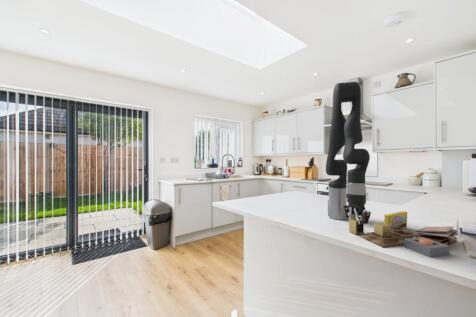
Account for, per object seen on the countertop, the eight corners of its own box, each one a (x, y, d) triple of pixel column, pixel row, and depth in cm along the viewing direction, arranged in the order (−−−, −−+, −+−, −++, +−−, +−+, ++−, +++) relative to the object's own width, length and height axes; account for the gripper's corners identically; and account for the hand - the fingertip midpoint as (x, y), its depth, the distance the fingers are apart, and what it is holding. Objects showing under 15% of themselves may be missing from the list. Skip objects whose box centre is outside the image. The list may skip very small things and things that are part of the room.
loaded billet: (374, 237, 88) (374, 223, 88) (382, 236, 89) (381, 222, 89) (382, 241, 84) (382, 226, 84) (390, 240, 85) (390, 225, 85)
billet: (349, 231, 97) (349, 218, 97) (356, 230, 98) (356, 218, 98) (356, 234, 93) (355, 221, 93) (363, 233, 94) (363, 220, 94)
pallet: (360, 237, 91) (360, 231, 91) (401, 233, 96) (401, 227, 96) (383, 247, 80) (383, 241, 80) (428, 242, 85) (428, 236, 85)
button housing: (403, 246, 81) (403, 238, 81) (422, 244, 83) (422, 236, 83) (429, 257, 72) (429, 248, 72) (449, 254, 74) (449, 245, 74)
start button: (415, 247, 79) (415, 238, 79) (424, 246, 80) (424, 237, 80) (427, 252, 75) (427, 242, 75) (436, 251, 76) (436, 241, 76)
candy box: (388, 234, 95) (388, 215, 95) (383, 232, 97) (383, 214, 97) (407, 228, 102) (407, 211, 102) (402, 227, 104) (402, 210, 104)
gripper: (338, 190, 102) (338, 226, 102) (361, 195, 88) (361, 237, 88) (351, 190, 103) (351, 225, 103) (376, 195, 90) (376, 235, 90)
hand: (356, 230), depth 96 cm, fingers closed on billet, 4 cm apart
